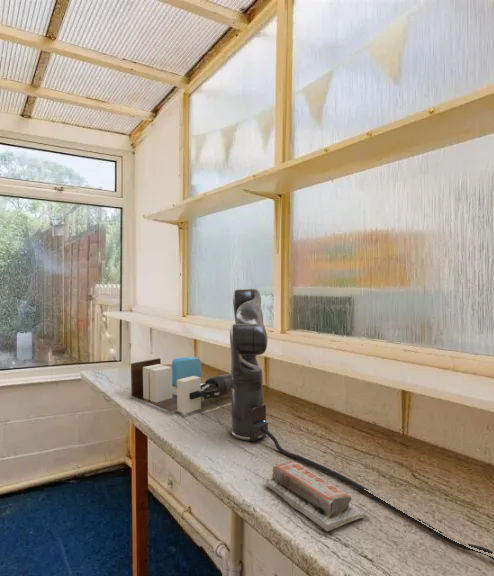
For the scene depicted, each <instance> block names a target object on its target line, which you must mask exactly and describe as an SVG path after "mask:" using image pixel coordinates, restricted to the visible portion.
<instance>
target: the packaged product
mask: <svg viewBox="0 0 494 576" xmlns="http://www.w3.org/2000/svg"><path fill="white" fill-rule="evenodd" d="M271 476H272V478H267V480H266V487H267V488H269V489H270V490H272V491H273V492H274V493H275V494H277V495H278V496H279V497H280V498H282V499H283V500H284V501H285V502H286V503H288V504H289V505H290V506H291V507H292V508H293V509H295V510H297V511H298V512H300V513H302V514H303V515H304V516H306V517H307V518H309V519H310V520H311V521H312V522H314V523H315V524H316V525H318V526H319V527H321V528H322V529H323V530H324V531H326V532H330V531H332V530H335V529H337V528H339V527H342V526H344V525H347V524H349V523H351V522H354V521H357V520H359V519H362V518H365V511H364V510H362V509H360V508H358V507H357V506H356V505H354V504H352V503H350V502H351V501H352V500H353V499H352V495H350V494H348V493H347V492H345V491H344V490H342V489H340V488H339V487H337V486H335V485H334V484H332V483H330V482H329V481H328V480H325V479H324V478H322V477H321V476H319V475H317V474H316V473H314V472H313V471H311V470H310V469H308V468H306V467H305V466H303V465H301V464H300V463H298V462H296V461H286V462H283V463H280V464H276V465H274V466H273V467H272V475H271Z"/></svg>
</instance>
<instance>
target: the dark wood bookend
mask: <svg viewBox="0 0 494 576" xmlns="http://www.w3.org/2000/svg"><path fill="white" fill-rule="evenodd" d="M161 360H162V359H161V358H160V357H159V358H151V359H146V360H141V361H136V362H131V363H130V390H131V391H130V392H131V395H130V396H131V397H133V398H135V399H138V400H140V401H143V402H145V403H148V404H151V405H153V406H155V407H158V408H160V409H163V410H165V411H168V412H174V411H177V394H175V393H172V398H171V399H167V400H164V401H160V402H156V403H155V402H153V401H150V400H148V399H145V398H143V367H146V366H151V365H157V364H161V365H162V363H161Z"/></svg>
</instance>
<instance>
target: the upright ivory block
mask: <svg viewBox="0 0 494 576" xmlns="http://www.w3.org/2000/svg"><path fill="white" fill-rule="evenodd" d="M201 383H202V377H201V378H200V377H196V376H191V377H187V378H182V379H178V380H177V386H176V395H177V410H176V411H177V412H178V413H180V414H183V415H186V414H189V413H192V412H195V411H198V410H202V398H195V399H190V393H191V392H195V391H199V390H201Z"/></svg>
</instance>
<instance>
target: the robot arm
mask: <svg viewBox="0 0 494 576" xmlns="http://www.w3.org/2000/svg"><path fill="white" fill-rule="evenodd" d="M232 307H233V315H234V322H235V323H234V324H232V325H231V327H230V330H229V346H230V361H231V362H230V363H231V364H230V367H231V369H230V370H231V371H230V373H226V374H220V375H215V376H211V377H207V379H206V380H205V382H201V390H199V391H195V392H191V393H190V399H195V398H201V399H202V398H203V399H204V400H207V399H217V398H221V397H223V396H227V395H229V394H230V396H231V398H230V399H231V436H233V437H234V438H235V439H238V440H242V441H248V442H253V443H254V442H256V441H259V440H260V439H263V438H265V437H267V436H268V437H269V438H270V439H271V441H273V443H274V446H275V447H276V449H277V450H278V452H280V453H281V454H283V455H285V456H287V457H288V458H292V459H295V460H298V461H301V462H303V463H305V464H308V465H310V466H312V467H314V468H316V469H319V470H320V471H323V472H325V473H327V474H330V475H331V476H333V477H335V478H337V479H339V480H341V481H342V482H345V483H347V484H348V485H351V486H352V487H354V488H356V489H358V490H359V491H361V492H362V493H364V494H366V495H368V496H369V497H371V498H372V499H374V500H376V501H378V502H379V503H381V504H382V505H384V506H386V507H387V508H390V509H391V510H393V511H394V512H396V513H398V514H399V515H401V516H403V517H404V518H406V519H408V520H410V522H411V521H412V522H413V523H415V524H417V525H418V526H420V527H422V528H423V529H425V530H427V531H428V532H430V533H432V534H434V535H435V536H437V537H439V538H441V539H442V540H444V541H445V542H448V543H450V544H452V545H453V546H456V547H458V548H460V549H463V550H466V551H468V552H469V551H470V552H473V553H477V554H482V555H485V556H487V557H489V558H490V559H491V560H493V561H494V558H493V557H491V556H488V555H486V554H483V553H481V552H478V551H475V550H473V549H470V548H468V547H466V546H464V545H462V544H459V543H457V542H455V541H453V540H451V539H449V538H447V537H445V536H443V535H442V534H440V533H444V532H443V531H441V530H440V529H438V528H436V527H434V526H433V525H431V526H430V524H429V523H428V522H425V521H424V522H423V520H422V519H420V518H419V517H417V519H418V520H419V521H421V520H422V522H423V523H425V524H427V525H428V524H429V527H432V528H433V527H434V528H433V529H435V528H436V530H437V529H438V531H439V532H440V533H438V532H436V531H434V530H433V529H431V528H429V527H427V526H426V525H424V524H422V523H421V522H419V521H417V520H415V519H414V518H412V517H410V516H408V515H407V514H405V513H403V512H402V511H400V510H398V509H396V508H395V507H393V506H391V505H390V504H388V503H386V502H385V501H383V500H381V499H380V498H378V497H376V496H374V495H373V494H371V493H369V492H368V491H366V490H369V488H367V487H365V486H363V485H361V484H360V483H358V482H356V481H354V480H353V479H350V478H348V477H347V476H344V475H343V474H341V473H339V472H337V471H335V470H333V469H330V468H329V467H327V466H324V465H322V464H320V463H318V462H315V461H313V460H310V459H308V458H305V457H304V456H301V455H300V454H299V455H298V454H296V453H291V452H289V451H287V450H285V449H283V447H281V445H280V443H279V441H278V440H277V438H276V437H275V436H274V435H273V433H271V432H270V431H269V423H268V422H267V408H266V407H267V404H266V403H264V389H263V387H264V386H263V385H264V384H263V383H264V382H263V381H264V380H263V378H264V377H263V376H264V373H263V372H264V371H263V369H262V368H261V367H260V366H259V363H258V360H257V356H260V355H263V354H265V352H266V351H267V348H268V334H267V329H266V326H265V324H264V315H263V310H262V296H261V293H260V291H259V290H258V289H257V288H240V289H239V288H238V289H235V290H234V291H233V294H232ZM364 489H366V490H364ZM468 545H469V546H471V547H474V548H477V549H479V550H483V551H484V552H488V553H491V554H492V553H493V552H494V551H492V550H491V549H489V548H486V547H484V546H481V545H476V544H473V543H468Z"/></svg>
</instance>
